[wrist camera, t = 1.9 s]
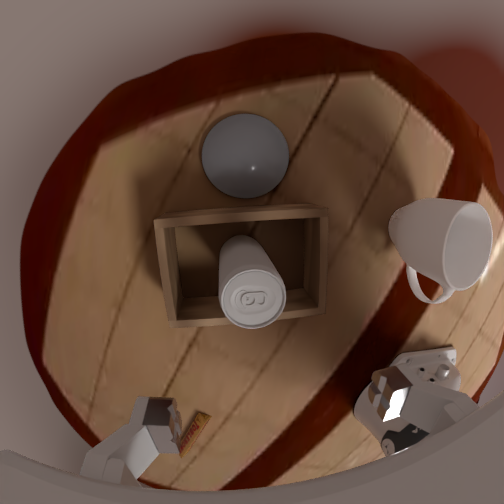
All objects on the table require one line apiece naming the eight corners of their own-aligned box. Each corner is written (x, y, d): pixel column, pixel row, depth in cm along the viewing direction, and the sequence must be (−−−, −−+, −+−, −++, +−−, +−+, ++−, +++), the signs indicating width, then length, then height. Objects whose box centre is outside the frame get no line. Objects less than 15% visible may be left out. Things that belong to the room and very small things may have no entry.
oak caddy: (309, 203, 30) (328, 208, 25) (309, 293, 33) (325, 313, 27) (165, 212, 29) (153, 219, 23) (177, 304, 31) (169, 327, 26)
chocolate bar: (213, 414, 37) (213, 424, 35) (189, 451, 39) (188, 460, 37) (197, 409, 36) (196, 420, 34) (175, 447, 38) (174, 456, 36)
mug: (380, 187, 30) (452, 195, 19) (430, 197, 32) (497, 209, 20) (367, 281, 33) (426, 322, 22) (416, 280, 34) (475, 313, 23)
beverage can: (218, 234, 30) (216, 268, 18) (263, 232, 30) (288, 265, 19) (220, 277, 31) (220, 332, 19) (263, 275, 31) (287, 327, 20)
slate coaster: (285, 114, 27) (286, 113, 27) (289, 195, 30) (290, 196, 29) (200, 117, 26) (200, 116, 26) (204, 200, 29) (204, 201, 28)
